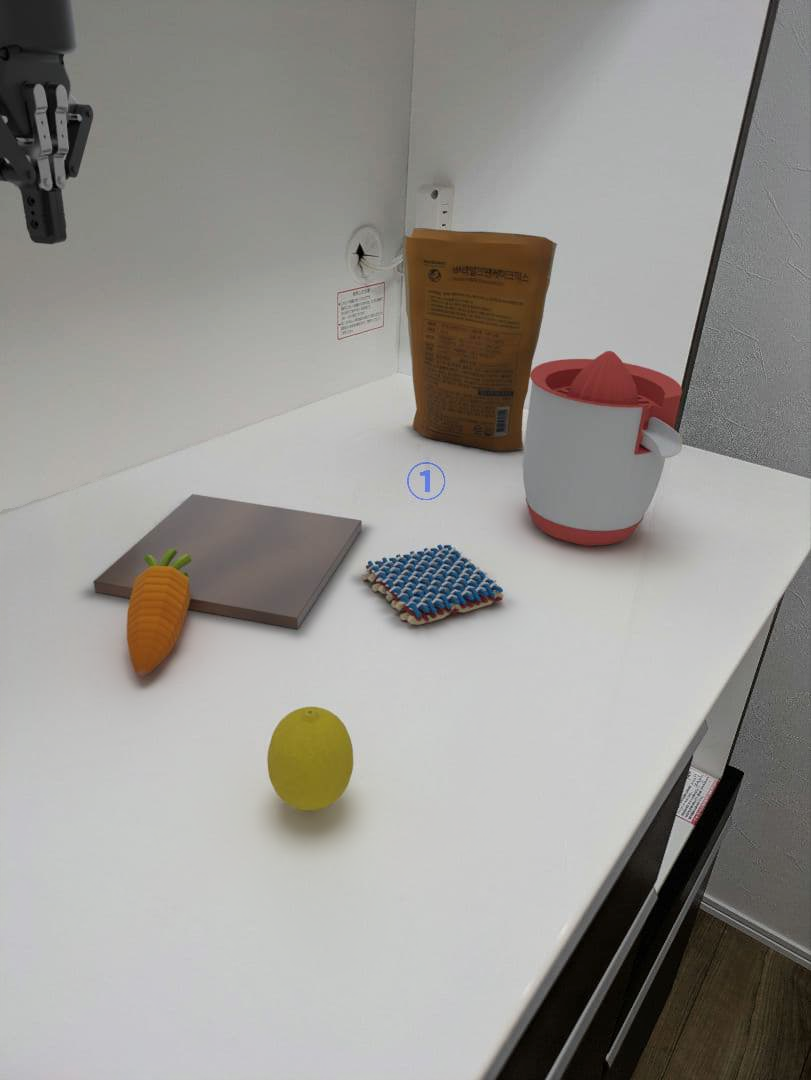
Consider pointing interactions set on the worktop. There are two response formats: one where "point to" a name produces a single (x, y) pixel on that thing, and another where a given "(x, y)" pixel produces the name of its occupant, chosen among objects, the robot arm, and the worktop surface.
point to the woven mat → (432, 584)
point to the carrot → (157, 611)
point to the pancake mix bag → (474, 331)
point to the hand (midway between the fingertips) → (48, 241)
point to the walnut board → (242, 558)
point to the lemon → (310, 758)
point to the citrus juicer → (596, 446)
